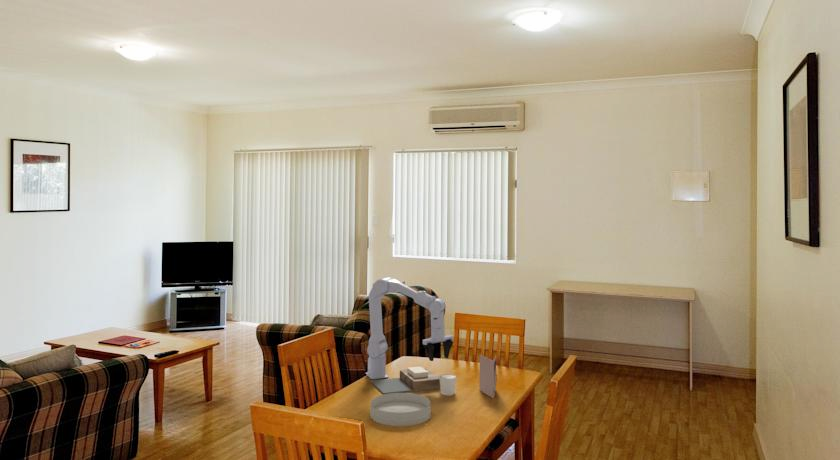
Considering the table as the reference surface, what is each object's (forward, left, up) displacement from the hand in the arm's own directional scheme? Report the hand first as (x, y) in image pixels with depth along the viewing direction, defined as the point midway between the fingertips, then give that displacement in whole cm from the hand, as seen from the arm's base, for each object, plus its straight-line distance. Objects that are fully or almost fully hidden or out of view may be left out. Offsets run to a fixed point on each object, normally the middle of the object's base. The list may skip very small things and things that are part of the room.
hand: (438, 359), depth 260 cm
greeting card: (+20, +13, -11) cm, 26 cm away
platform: (-2, -8, -10) cm, 13 cm away
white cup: (+14, -2, -11) cm, 17 cm away
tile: (-2, -9, -5) cm, 11 cm away
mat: (-2, -20, -10) cm, 23 cm away
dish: (+31, -28, -11) cm, 43 cm away
